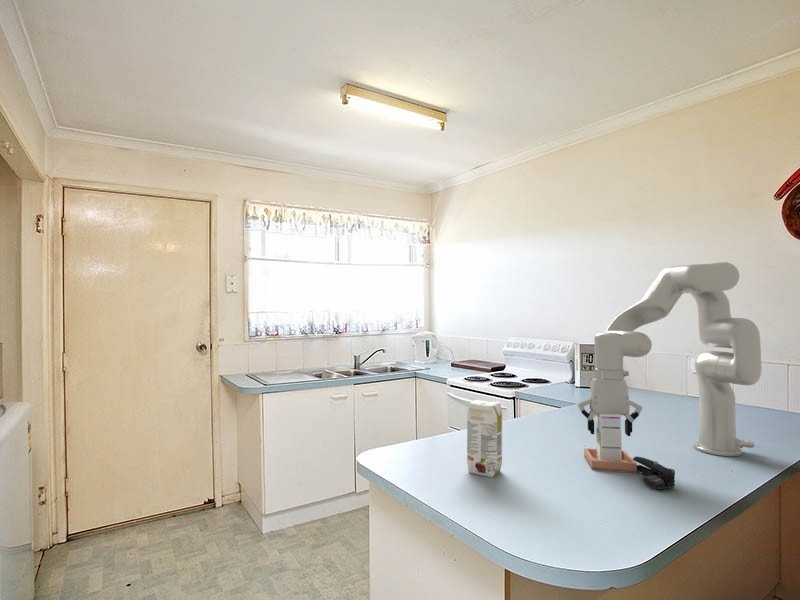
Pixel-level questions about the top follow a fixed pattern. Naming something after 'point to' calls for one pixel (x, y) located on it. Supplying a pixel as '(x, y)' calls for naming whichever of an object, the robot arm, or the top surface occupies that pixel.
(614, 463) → the tray
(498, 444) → the juice carton
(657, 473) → the can opener
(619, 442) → the syrup box
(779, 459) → the top surface
